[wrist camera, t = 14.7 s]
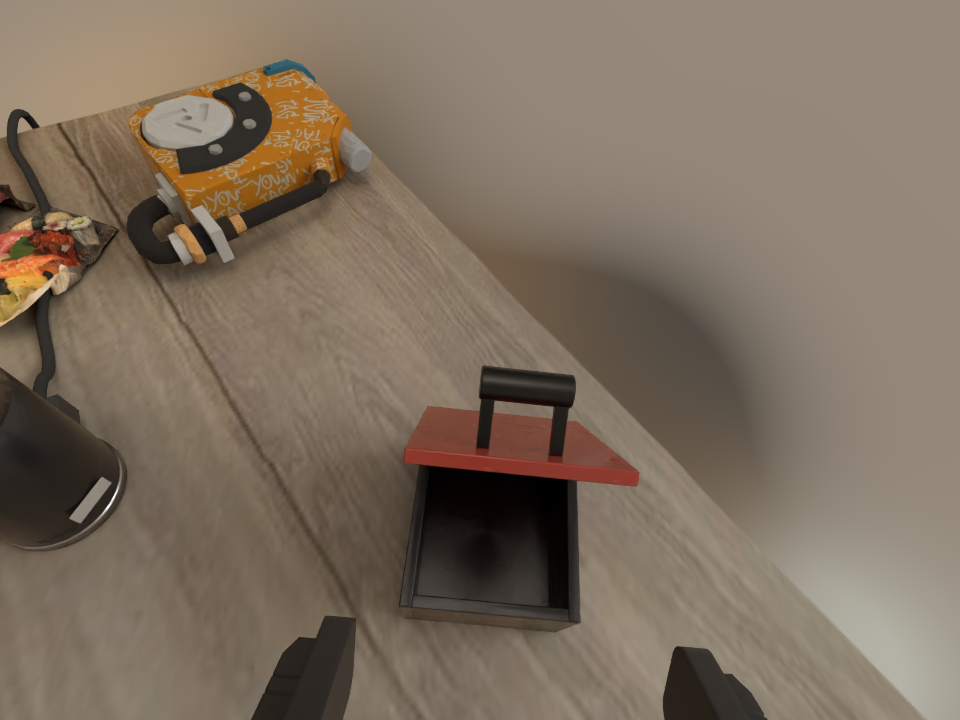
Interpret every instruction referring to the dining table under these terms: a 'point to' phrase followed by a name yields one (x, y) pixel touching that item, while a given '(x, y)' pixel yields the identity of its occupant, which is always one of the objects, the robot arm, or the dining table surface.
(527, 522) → the black open box
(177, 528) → the dining table surface
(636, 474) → the lid
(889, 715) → the dining table surface
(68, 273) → the food
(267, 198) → the device
